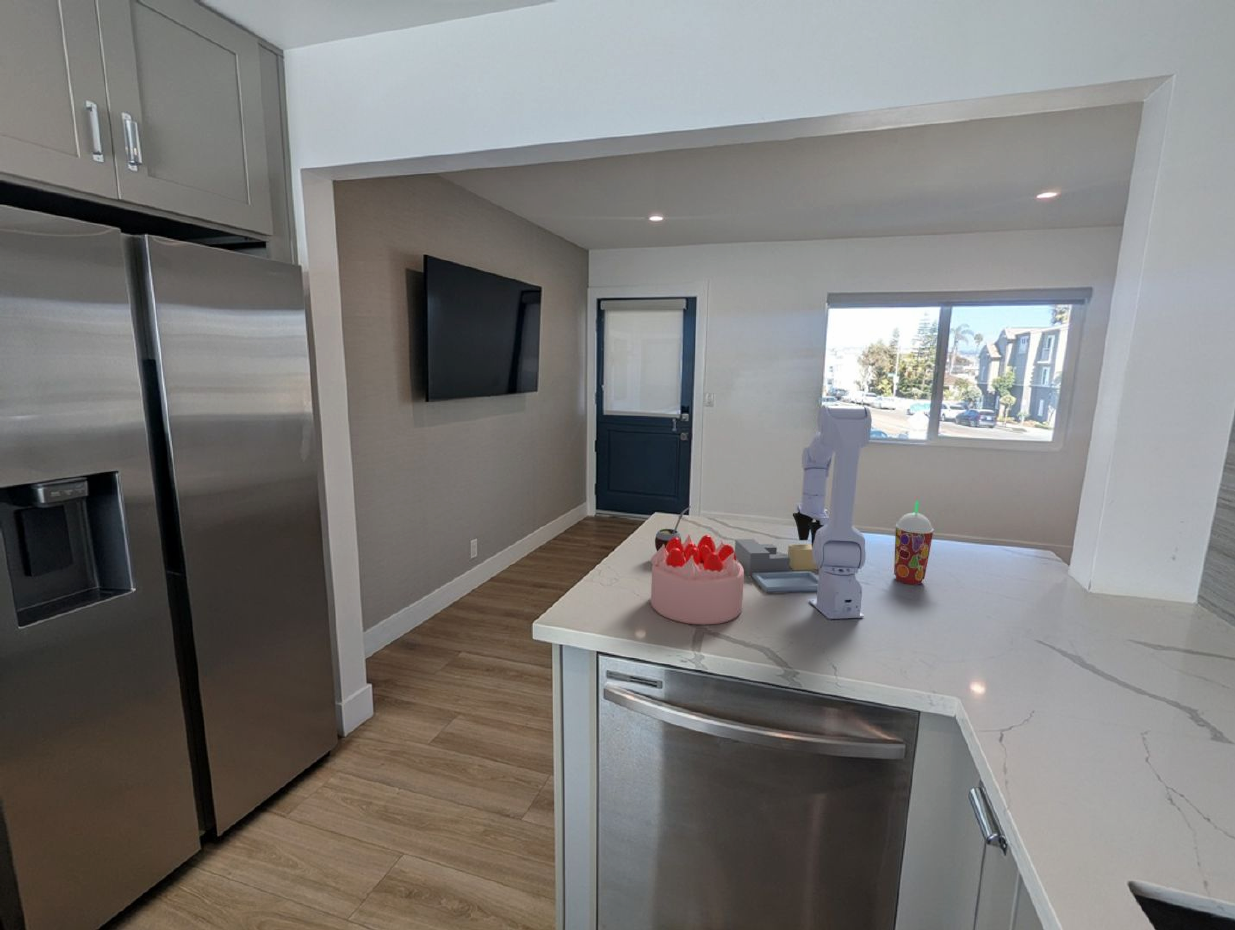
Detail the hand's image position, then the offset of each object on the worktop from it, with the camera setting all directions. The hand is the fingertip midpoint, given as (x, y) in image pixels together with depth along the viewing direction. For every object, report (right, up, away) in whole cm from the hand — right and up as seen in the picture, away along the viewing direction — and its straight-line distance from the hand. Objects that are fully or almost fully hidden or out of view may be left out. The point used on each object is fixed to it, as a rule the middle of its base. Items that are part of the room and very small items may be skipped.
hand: (809, 544), depth 152 cm
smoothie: (+22, -8, -8) cm, 25 cm away
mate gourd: (-36, -5, +4) cm, 37 cm away
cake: (-33, -10, -25) cm, 43 cm away
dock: (-13, -6, -1) cm, 14 cm away
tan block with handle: (0, -6, +1) cm, 6 cm away
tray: (-9, -8, -12) cm, 17 cm away
